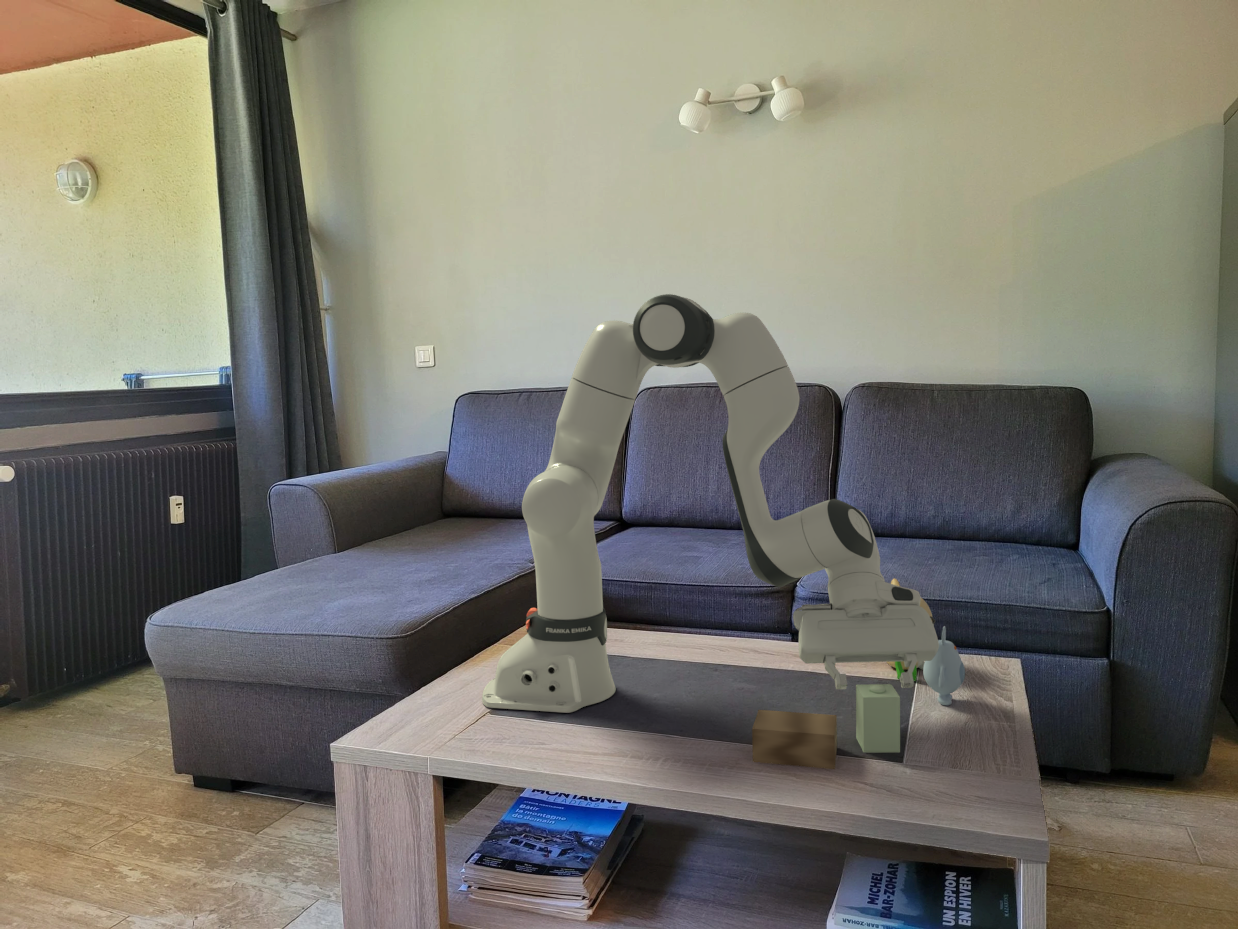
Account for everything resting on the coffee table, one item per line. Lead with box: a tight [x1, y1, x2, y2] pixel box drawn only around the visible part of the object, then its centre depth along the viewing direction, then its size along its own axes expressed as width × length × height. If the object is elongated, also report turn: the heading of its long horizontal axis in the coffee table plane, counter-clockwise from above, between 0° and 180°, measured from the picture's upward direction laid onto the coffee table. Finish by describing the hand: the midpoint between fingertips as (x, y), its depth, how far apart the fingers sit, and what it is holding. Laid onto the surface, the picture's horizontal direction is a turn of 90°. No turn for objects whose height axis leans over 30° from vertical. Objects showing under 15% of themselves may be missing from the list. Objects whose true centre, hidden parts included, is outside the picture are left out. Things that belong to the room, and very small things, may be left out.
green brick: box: [855, 683, 901, 754], centre depth 125 cm, size 5×5×8 cm
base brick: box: [751, 709, 838, 770], centre depth 123 cm, size 11×7×5 cm, turn 74°
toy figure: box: [922, 625, 966, 706], centre depth 140 cm, size 11×6×12 cm, turn 156°
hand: (874, 687), depth 128 cm, fingers open, 8 cm apart
